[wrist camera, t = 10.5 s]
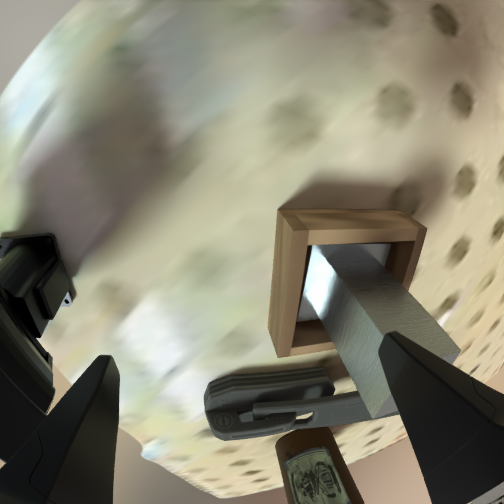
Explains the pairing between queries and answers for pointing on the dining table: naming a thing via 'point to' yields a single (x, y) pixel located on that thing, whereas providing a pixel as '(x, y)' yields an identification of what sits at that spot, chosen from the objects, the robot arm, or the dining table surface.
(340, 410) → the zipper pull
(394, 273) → the well
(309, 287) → the bracket post
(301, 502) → the olive oil
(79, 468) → the robot arm
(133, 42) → the dining table surface
